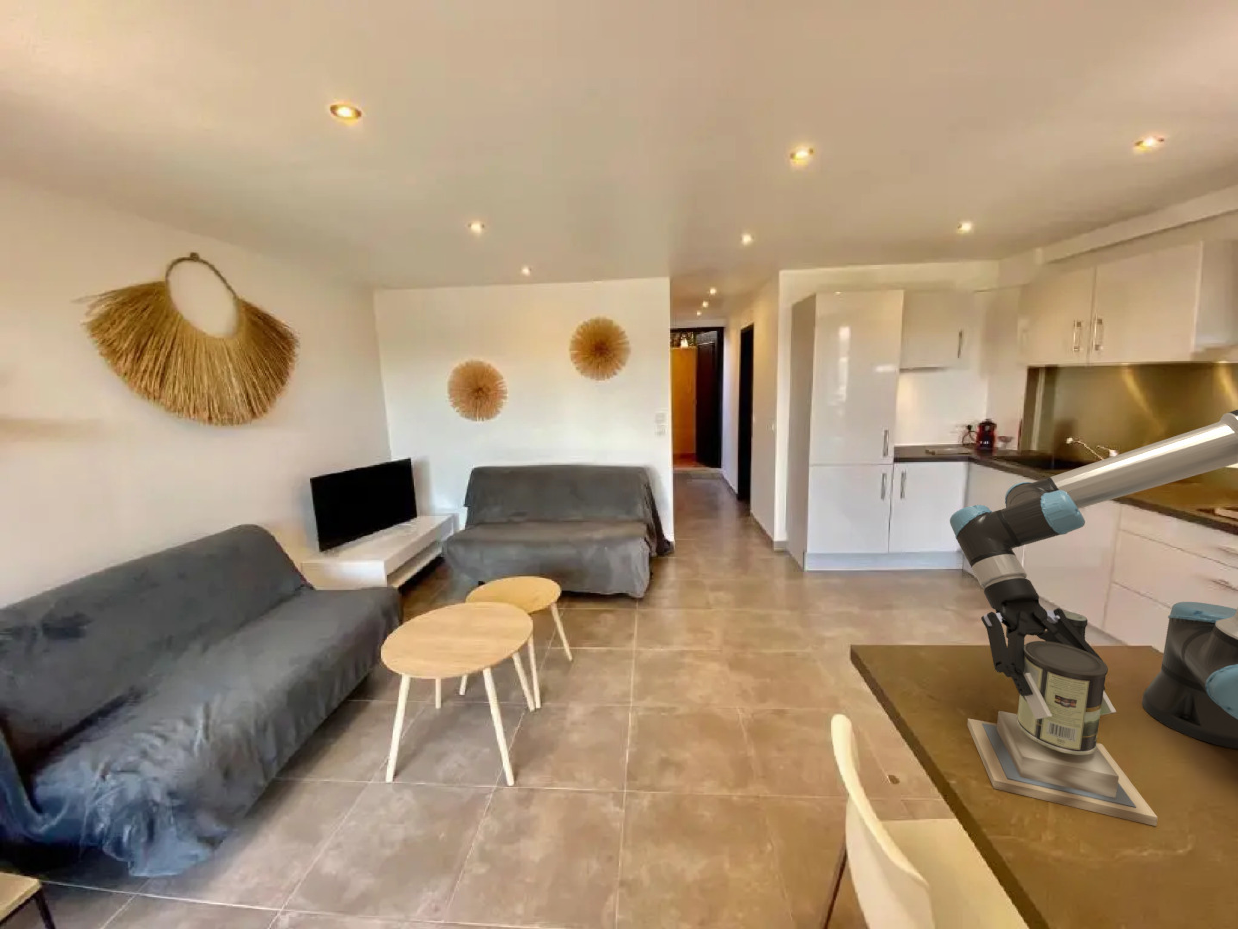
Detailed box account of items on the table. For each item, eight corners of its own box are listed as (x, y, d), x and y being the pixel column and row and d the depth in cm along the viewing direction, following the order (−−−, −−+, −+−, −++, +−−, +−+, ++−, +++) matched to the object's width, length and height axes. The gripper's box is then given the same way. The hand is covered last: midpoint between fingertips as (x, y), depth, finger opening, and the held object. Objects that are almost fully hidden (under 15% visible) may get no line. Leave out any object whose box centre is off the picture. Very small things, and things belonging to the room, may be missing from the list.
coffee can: (1066, 715, 88) (1076, 641, 85) (1114, 758, 77) (1126, 676, 75) (1001, 710, 89) (1009, 638, 87) (1040, 753, 79) (1050, 672, 77)
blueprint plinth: (1100, 751, 88) (1104, 723, 87) (1156, 826, 73) (1161, 794, 72) (967, 725, 95) (969, 699, 95) (993, 788, 81) (996, 758, 80)
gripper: (1048, 588, 96) (1122, 715, 83) (935, 594, 95) (993, 723, 82) (1078, 573, 90) (1163, 707, 77) (958, 579, 89) (1024, 716, 76)
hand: (1075, 715), depth 79 cm, fingers closed on coffee can, 10 cm apart
